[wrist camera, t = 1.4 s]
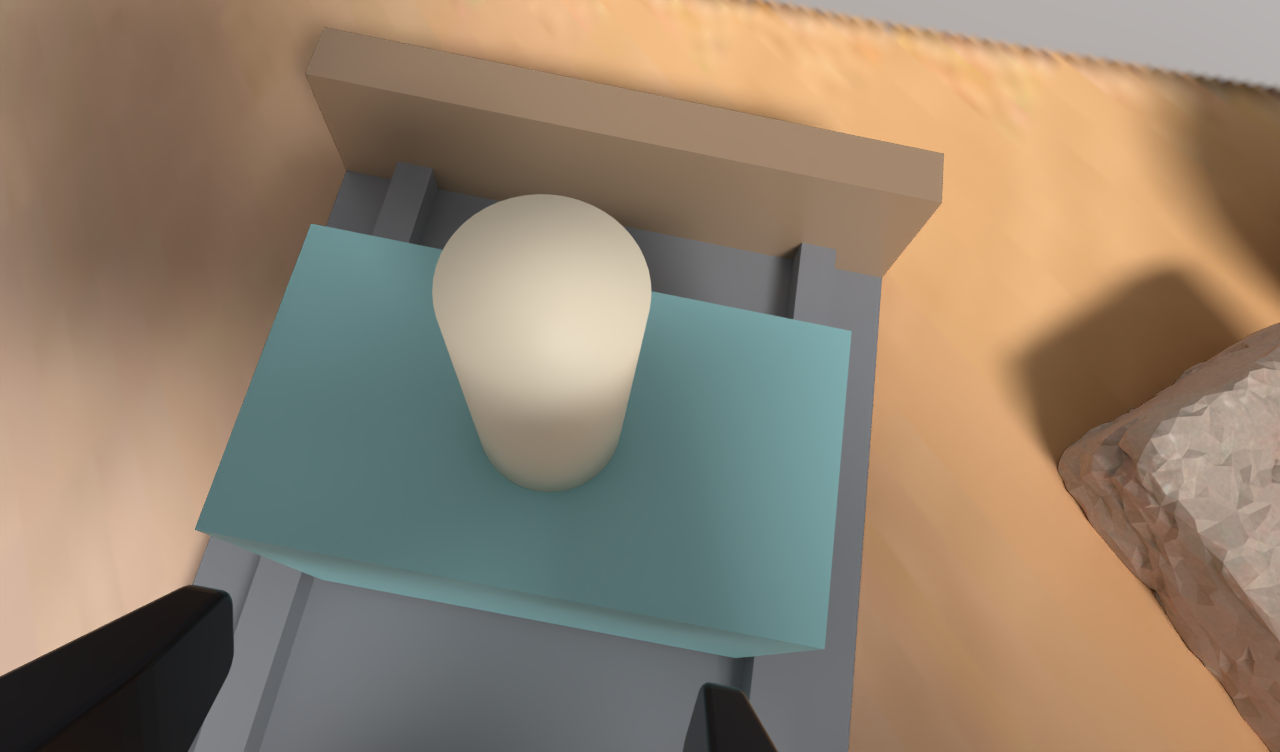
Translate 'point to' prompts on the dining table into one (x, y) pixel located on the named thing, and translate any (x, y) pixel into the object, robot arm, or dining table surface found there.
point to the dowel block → (542, 436)
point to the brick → (1202, 513)
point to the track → (678, 265)
